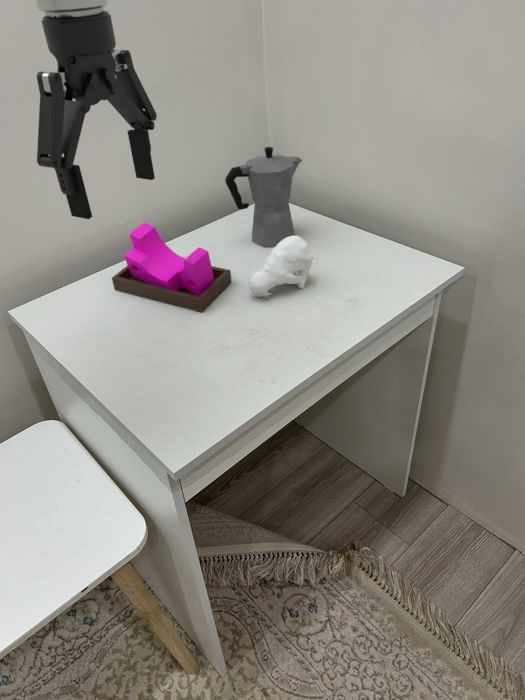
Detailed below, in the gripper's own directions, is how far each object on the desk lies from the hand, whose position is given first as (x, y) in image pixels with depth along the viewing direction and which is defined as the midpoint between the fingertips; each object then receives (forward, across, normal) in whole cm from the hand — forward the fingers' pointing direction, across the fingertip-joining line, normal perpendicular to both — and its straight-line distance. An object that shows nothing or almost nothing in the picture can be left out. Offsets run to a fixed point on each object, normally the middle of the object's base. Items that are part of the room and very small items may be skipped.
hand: (115, 196), depth 73 cm
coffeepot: (+22, +36, -5) cm, 43 cm away
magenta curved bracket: (+22, +14, +4) cm, 26 cm away
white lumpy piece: (+23, +20, -14) cm, 33 cm away
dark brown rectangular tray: (+23, +13, +4) cm, 27 cm away
